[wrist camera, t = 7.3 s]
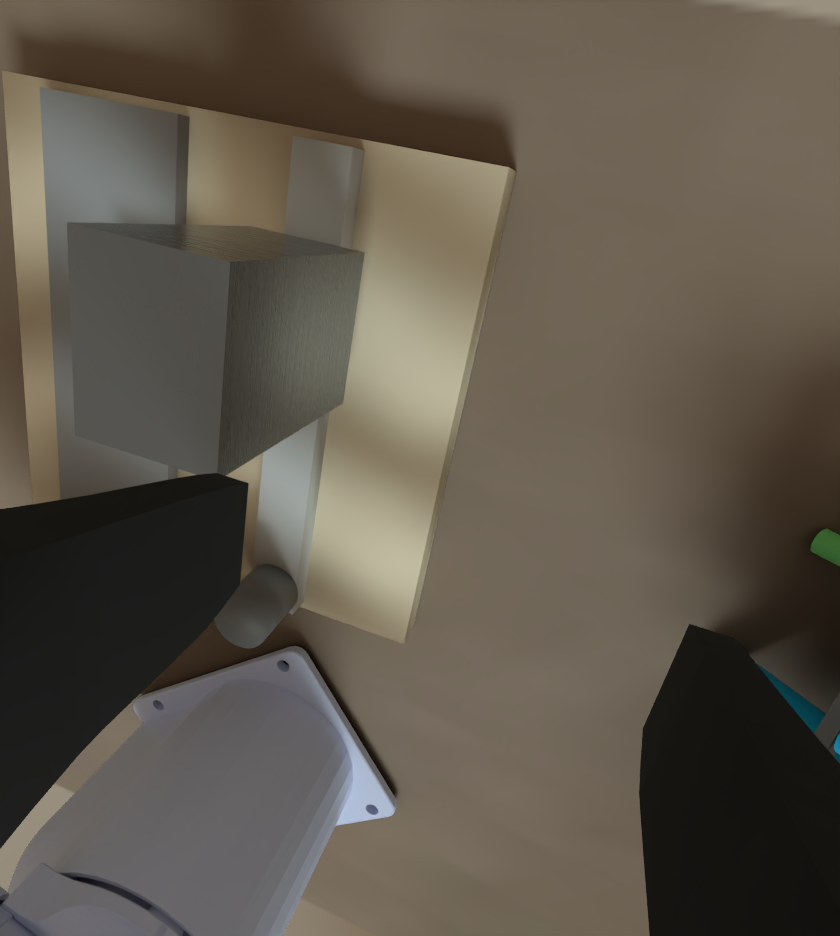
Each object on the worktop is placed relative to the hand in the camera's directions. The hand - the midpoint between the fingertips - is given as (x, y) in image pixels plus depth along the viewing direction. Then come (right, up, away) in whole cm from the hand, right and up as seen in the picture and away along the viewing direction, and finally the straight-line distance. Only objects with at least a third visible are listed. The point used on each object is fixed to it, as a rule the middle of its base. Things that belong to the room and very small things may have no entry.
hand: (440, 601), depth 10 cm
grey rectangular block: (-5, +7, +7) cm, 11 cm away
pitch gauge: (-6, +5, +10) cm, 13 cm away
